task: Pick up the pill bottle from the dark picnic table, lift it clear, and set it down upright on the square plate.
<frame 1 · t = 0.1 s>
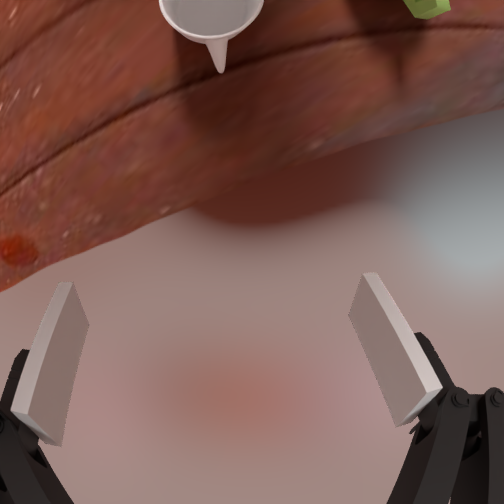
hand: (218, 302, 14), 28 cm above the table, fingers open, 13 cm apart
mug: (212, 24, 29), on the table
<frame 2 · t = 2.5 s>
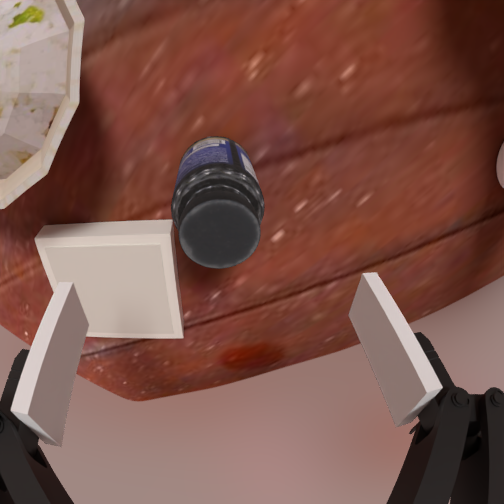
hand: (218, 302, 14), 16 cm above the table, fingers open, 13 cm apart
pill bottle: (215, 167, 27), on the table
square plate: (115, 278, 32), on the table
bowl: (27, 67, 19), on the table
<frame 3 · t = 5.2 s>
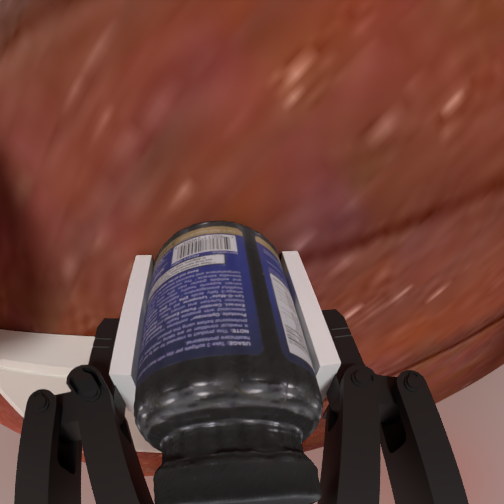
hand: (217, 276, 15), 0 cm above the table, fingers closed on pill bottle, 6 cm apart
pill bottle: (217, 267, 16), on the table, touching gripper
square plate: (84, 390, 21), on the table
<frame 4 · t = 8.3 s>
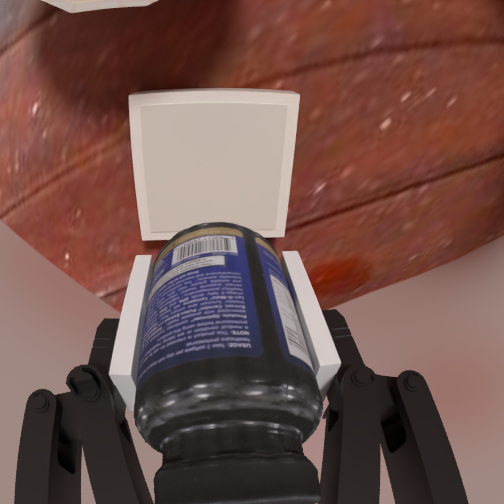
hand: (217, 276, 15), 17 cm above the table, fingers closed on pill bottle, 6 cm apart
pill bottle: (217, 268, 16), point 16 cm above the table, touching gripper
square plate: (212, 161, 29), on the table
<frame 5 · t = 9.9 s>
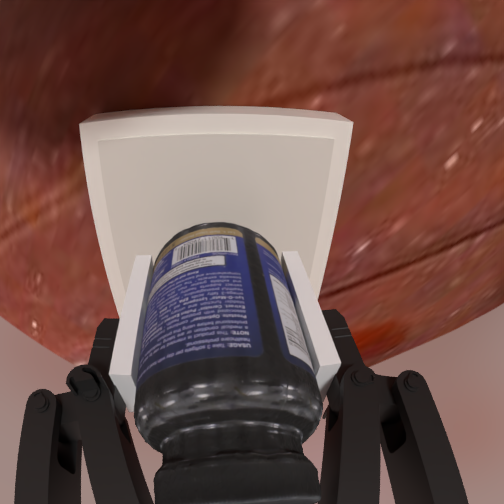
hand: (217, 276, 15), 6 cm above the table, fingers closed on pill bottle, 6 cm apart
pill bottle: (217, 268, 16), point 6 cm above the table, touching gripper
square plate: (214, 216, 20), on the table
when the fingers open (4 cm above the table, at t = 11.2 s): pill bottle stays where it is, resting on square plate.
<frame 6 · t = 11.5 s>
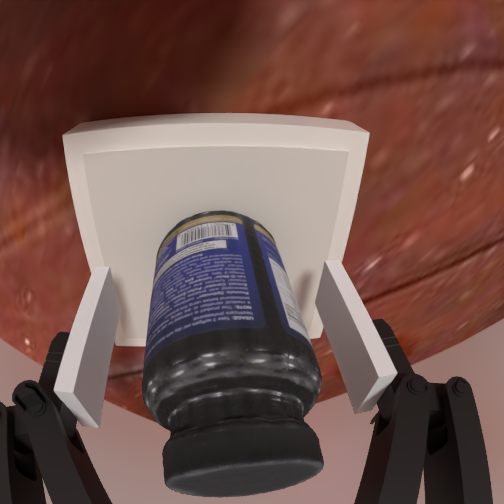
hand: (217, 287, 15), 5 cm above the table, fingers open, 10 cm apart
pill bottle: (217, 256, 16), point 2 cm above the table, touching square plate
square plate: (214, 234, 19), on the table
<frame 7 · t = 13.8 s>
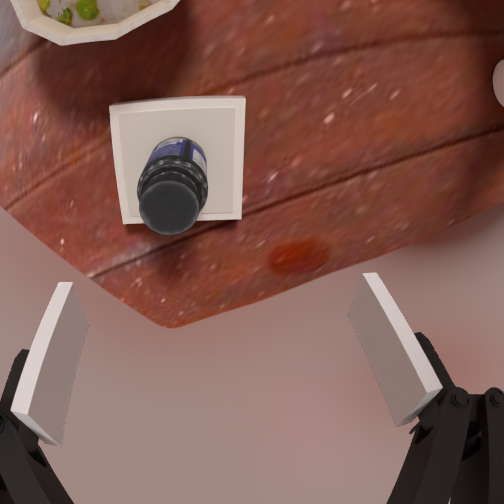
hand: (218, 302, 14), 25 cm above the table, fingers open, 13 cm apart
pill bottle: (178, 162, 32), point 2 cm above the table, touching square plate
square plate: (179, 157, 34), on the table
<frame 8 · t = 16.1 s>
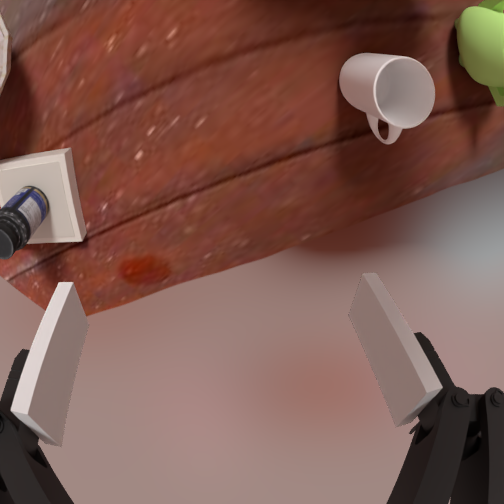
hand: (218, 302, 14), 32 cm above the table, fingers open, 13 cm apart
pill bottle: (34, 202, 39), point 2 cm above the table, touching square plate
square plate: (40, 196, 41), on the table
mug: (364, 92, 39), on the table
teapot: (473, 43, 33), on the table
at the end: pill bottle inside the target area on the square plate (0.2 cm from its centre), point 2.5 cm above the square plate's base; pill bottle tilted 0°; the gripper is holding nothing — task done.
